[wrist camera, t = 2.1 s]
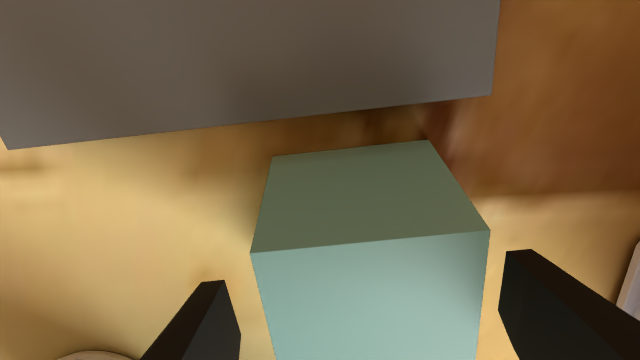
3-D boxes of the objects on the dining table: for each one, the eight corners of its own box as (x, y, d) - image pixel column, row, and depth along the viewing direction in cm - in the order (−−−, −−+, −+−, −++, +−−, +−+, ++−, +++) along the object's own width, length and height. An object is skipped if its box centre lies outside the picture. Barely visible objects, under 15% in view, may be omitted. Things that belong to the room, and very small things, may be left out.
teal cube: (427, 138, 12) (490, 229, 8) (425, 260, 15) (472, 383, 10) (272, 155, 13) (249, 253, 8) (294, 272, 15) (286, 398, 10)
